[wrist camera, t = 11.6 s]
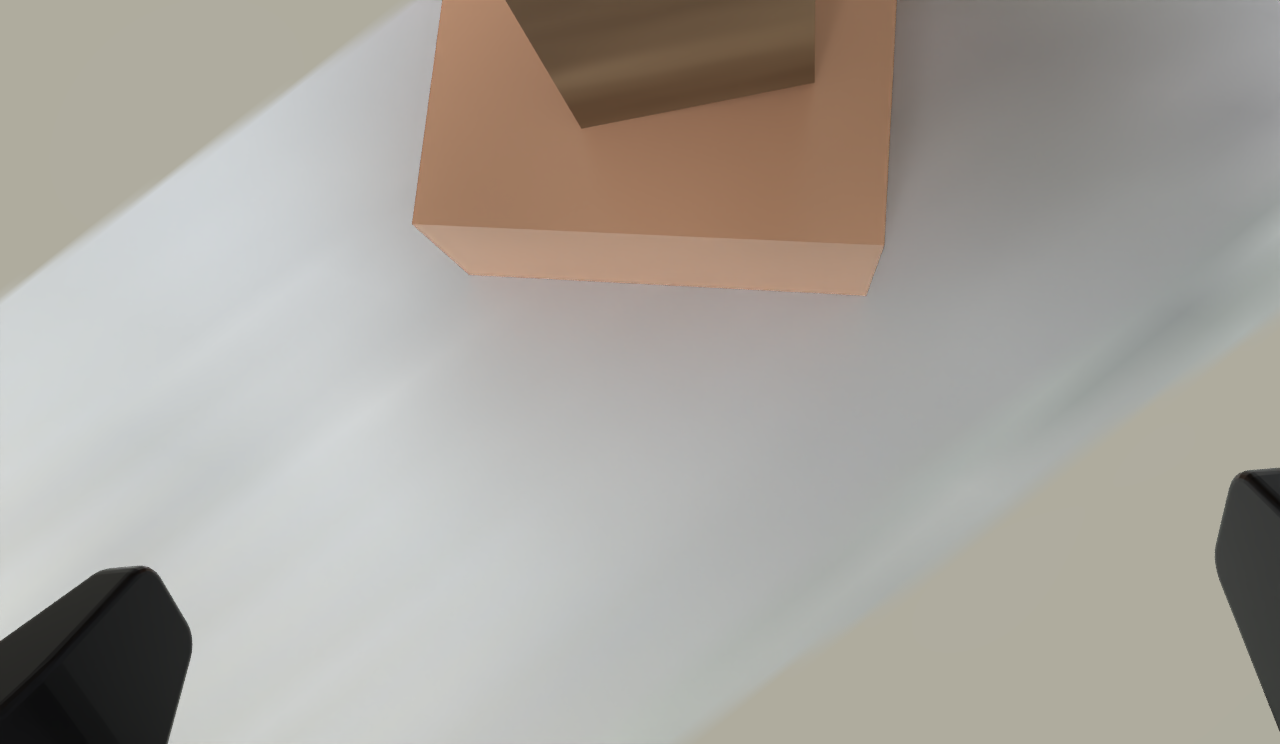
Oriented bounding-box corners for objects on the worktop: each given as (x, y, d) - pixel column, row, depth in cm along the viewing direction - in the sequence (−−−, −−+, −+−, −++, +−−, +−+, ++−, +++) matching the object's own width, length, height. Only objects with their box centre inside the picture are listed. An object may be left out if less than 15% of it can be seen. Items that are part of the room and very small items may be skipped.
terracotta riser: (864, 300, 21) (884, 245, 18) (474, 279, 23) (412, 223, 19) (884, -69, 23) (906, -195, 19) (516, -68, 24) (467, -186, 20)
